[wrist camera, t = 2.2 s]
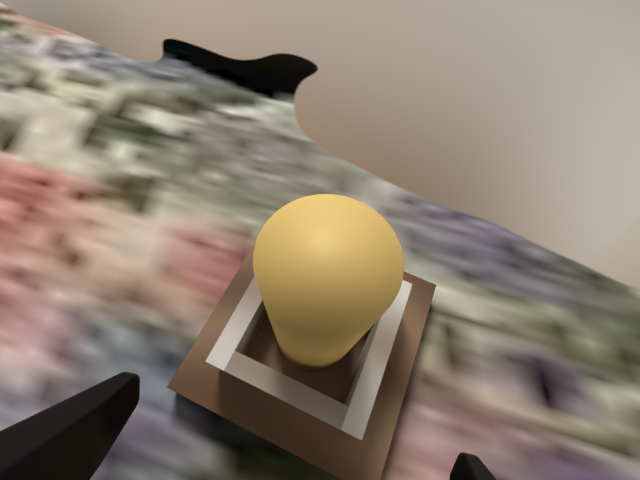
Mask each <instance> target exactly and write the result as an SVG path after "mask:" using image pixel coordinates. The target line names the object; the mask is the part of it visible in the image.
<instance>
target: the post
mask: <svg viewBox="0 0 640 480" xmlns="http://www.w3.org/2000/svg"><path fill="white" fill-rule="evenodd" d="M253 269H254V275H255V279H256V283H257V286H258V288H259V291H260V294H261V297H262V300H263V302H264V305H265V308H266V311H267V314H268V317H269V319H270V322H271V325H272V328H273V331H274V333H275V336H276V339H277V342H278V345H279V347H280V350H281V352H282V353H283V355H284V356H285V358H286V359H287V360H288V361H289V362H290V363H292V364H293V365H294V366H296V367H298V368H300V369H303V370H307V371H321V370H325V369H328V368H330V367H332V366H333V365H335V364H336V363H338V362H339V361H340V360H341V359H342V358H343V357H344V355H345V354H346V353H347V352H348V351H349V350H350V349H351V348H352V347H353V346H354V345H355V344H356V343H357V342H358V341H359V340H360V338H361V337H362V336H363V335H364V334H365V333H366V332H367V331H368V330H369V329H370V328H371V327H372V326H373V325H374V324H375V322H376V321H377V320H378V319H379V318H380V317H381V316H382V315H383V314H384V313H385V312H386V311H387V309H388V308H389V307H390V306H391V305H392V303H393V302H394V300H395V298H396V297H397V295H398V292H399V290H400V288H401V284H402V280H403V274H404V258H403V252H402V249H401V245H400V242H399V240H398V238H397V236H396V234H395V232H394V231H393V229H392V228H391V226H390V225H389V224H388V223H387V221H386V220H385V219H384V218H383V217H382V216H381V215H380V214H379V213H377V212H376V211H375V210H373V209H372V208H371V207H369V206H367V205H366V204H364V203H362V202H359V201H357V200H355V199H352V198H349V197H345V196H340V195H332V194H319V195H311V196H307V197H303V198H300V199H297V200H295V201H293V202H290V203H288V204H287V205H285V206H284V207H282V208H280V209H279V210H278V211H277V212H276V213H274V214H273V215H272V216H271V217H270V219H269V220H268V221H267V222H266V223H265V225H264V226H263V228H262V230H261V231H260V233H259V235H258V238H257V241H256V243H255V248H254V253H253Z"/></svg>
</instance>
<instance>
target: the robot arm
mask: <svg viewBox="0 0 640 480" xmlns="http://www.w3.org/2000/svg"><path fill="white" fill-rule="evenodd" d="M139 389H140V378H139V376H138V375H137V374H134V373H130V372H122V373H120V374H118V375H115V376H113V377H111V378H109V379H107V380H105V381H103V382H101V383H99V384H97V385H95V386H93V387H91V388H89V389H87V390H85V391H82V392H80V393H78V394H76V395H74V396H72V397H70V398H68V399H66V400H64V401H62V402H60V403H58V404H56V405H54V406H52V407H49V408H47V409H45V410H43V411H41V412H39V413H37V414H35V415H33V416H31V417H29V418H27V419H25V420H23V421H21V422H19V423H16V424H14V425H12V426H10V427H8V428H6V429H4V430H2V431H0V480H90V478H91V477H92V476H93V474H94V473H95V471H96V470H97V469H98V467H99V466H100V464H101V463H102V461H103V460H104V458H105V457H106V455H107V453H108V452H109V450H110V449H111V447H112V445H113V444H114V442H115V440H116V439H117V437H118V435H119V434H120V432H121V431H122V429H123V427H124V426H125V424H126V422H127V421H128V419H129V417H130V416H131V414H132V412H133V411H134V409H135V408H136V406H137V404H138V401H139ZM450 480H496V478H495V477H494V476H493V475H492V474H491V472H490V471H489V470H488V469H487V467H486V466H485V465H484V464H483V463H482V461H481V460H480V459H479V458H478V457H477V456H475V455H472V454H467V453H460V454H459V455H458V457H457V460H456V462H455V464H454V466H453V469H452V471H451V474H450Z"/></svg>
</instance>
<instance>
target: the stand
mask: <svg viewBox="0 0 640 480" xmlns="http://www.w3.org/2000/svg"><path fill="white" fill-rule="evenodd" d="M255 243H256V242H255ZM254 248H255V244H254V245H253V247H252V249H251V250H250V252H249V254H248V255H247V257H246V259H245V260H244V262H243V264H242V265H241V267H240V268H239V270H238V272H237V273H236V275H235V277H234V278H233V280H232V282H231V283H230V285H229V287H228V288H227V290H226V291H225V293H224V295H223V296H222V298H221V300H220V301H219V303H218V305H217V306H216V308H215V310H214V311H213V313H212V314H211V316H210V318H209V319H208V321H207V323H206V324H205V326H204V328H203V329H202V331H201V333H200V334H199V336H198V337H197V339H196V341H195V342H194V344H193V346H192V347H191V349H190V351H189V352H188V354H187V356H186V357H185V359H184V360H183V362H182V364H181V365H180V367H179V369H178V370H177V372H176V374H175V375H174V377H173V379H172V380H171V382H170V383H169V385H168V387H167V388H169V389H171V390H173V391H175V392H176V393H178V394H180V395H182V396H184V397H186V398H188V399H190V400H192V401H194V402H195V403H197V404H199V405H201V406H203V407H205V408H207V409H209V410H211V411H212V412H214V413H216V414H218V415H220V416H222V417H224V418H226V419H228V420H229V421H231V422H233V423H235V424H237V425H239V426H241V427H243V428H245V429H247V430H248V431H250V432H252V433H254V434H256V435H258V436H260V437H262V438H264V439H265V440H267V441H269V442H271V443H273V444H275V445H277V446H279V447H281V448H282V449H284V450H286V451H288V452H290V453H292V454H294V455H296V456H298V457H300V458H301V459H303V460H305V461H307V462H309V463H311V464H313V465H315V466H317V467H318V468H320V469H322V470H324V471H326V472H328V473H330V474H332V475H334V476H335V477H337V478H339V479H341V480H380V478H381V475H382V471H383V468H384V464H385V461H386V458H387V454H388V451H389V447H390V444H391V440H392V437H393V433H394V430H395V426H396V423H397V419H398V416H399V412H400V409H401V405H402V402H403V398H404V395H405V391H406V388H407V384H408V381H409V378H410V374H411V371H412V367H413V364H414V360H415V357H416V353H417V350H418V346H419V343H420V339H421V336H422V332H423V329H424V325H425V322H426V318H427V315H428V311H429V308H430V305H431V301H432V298H433V294H434V291H435V287H436V285H435V284H432V283H430V282H428V281H425V280H423V279H421V278H418V277H416V276H413V275H411V274H409V273H406V272H404V274H403V280H402V284H401V288H400V290H399V292H398V295H397V297H396V298H395V300H394V302H393V303H392V305H391V306H390V307H389V308H388V309H387V311H386V312H385V313H384V314H383V315H382V316H381V317H380V318H379V319H378V320H377V321H376V322H375V324H374V325H373V326H372V327H371V328H370V329H369V330H368V331H367V332H366V333H365V334H364V335H363V336H362V337H361V338H360V340H359V341H358V342H357V343H356V344H355V345H354V346H353V347H352V348H351V349H350V350H349V351H348V352H347V353H346V354H345V355H344V357H343V358H342V359H341V360H340V361H339V362H338V363H336V364H335V365H333V366H332V367H330V368H328V369H325V370H321V371H307V370H303V369H300V368H298V367H296V366H294V365H293V364H292V363H290V362H289V361H288V360H287V359H286V358H285V356H284V355H283V353H282V352H281V350H280V347H279V345H278V342H277V339H276V336H275V333H274V331H273V328H272V325H271V322H270V319H269V317H268V314H267V311H266V308H265V305H264V302H263V300H262V297H261V294H260V291H259V288H258V286H257V283H256V279H255V275H254V269H253V253H254Z"/></svg>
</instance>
